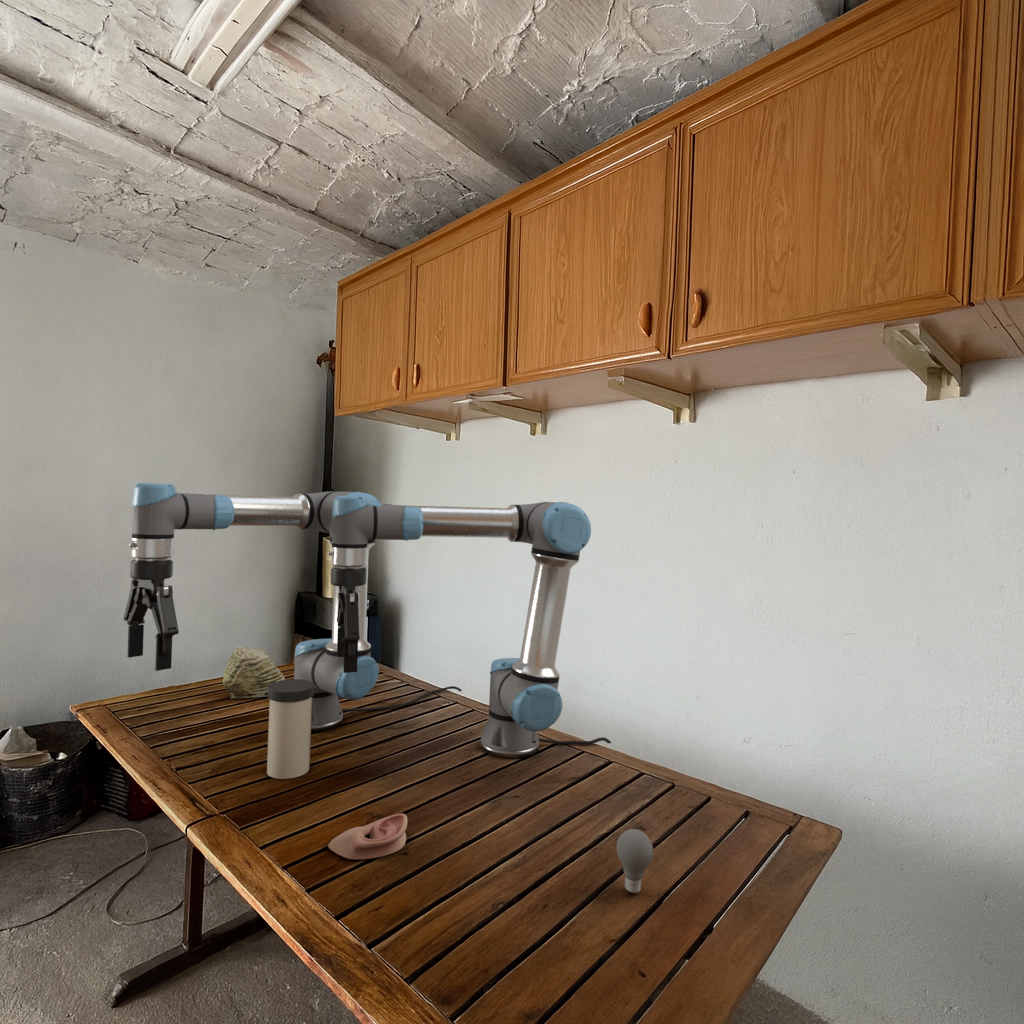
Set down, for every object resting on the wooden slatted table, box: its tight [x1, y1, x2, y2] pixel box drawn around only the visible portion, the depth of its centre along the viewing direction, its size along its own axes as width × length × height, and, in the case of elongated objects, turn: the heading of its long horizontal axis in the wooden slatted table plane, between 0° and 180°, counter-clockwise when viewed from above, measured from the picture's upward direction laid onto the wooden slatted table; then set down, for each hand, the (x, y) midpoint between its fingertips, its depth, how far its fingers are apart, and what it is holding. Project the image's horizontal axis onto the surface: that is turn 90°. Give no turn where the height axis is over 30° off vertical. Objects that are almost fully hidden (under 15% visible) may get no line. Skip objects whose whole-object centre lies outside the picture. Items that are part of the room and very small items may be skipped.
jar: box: [266, 697, 312, 780], centre depth 146 cm, size 9×9×19 cm
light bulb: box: [615, 828, 654, 894], centre depth 106 cm, size 6×6×10 cm
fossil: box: [222, 646, 286, 699], centre depth 198 cm, size 9×18×15 cm, turn 132°
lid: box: [267, 678, 314, 702], centre depth 146 cm, size 10×10×2 cm
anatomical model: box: [327, 813, 408, 861], centre depth 116 cm, size 13×4×12 cm
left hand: (148, 662), depth 129 cm, fingers open, 13 cm apart
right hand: (346, 663), depth 138 cm, fingers open, 13 cm apart
